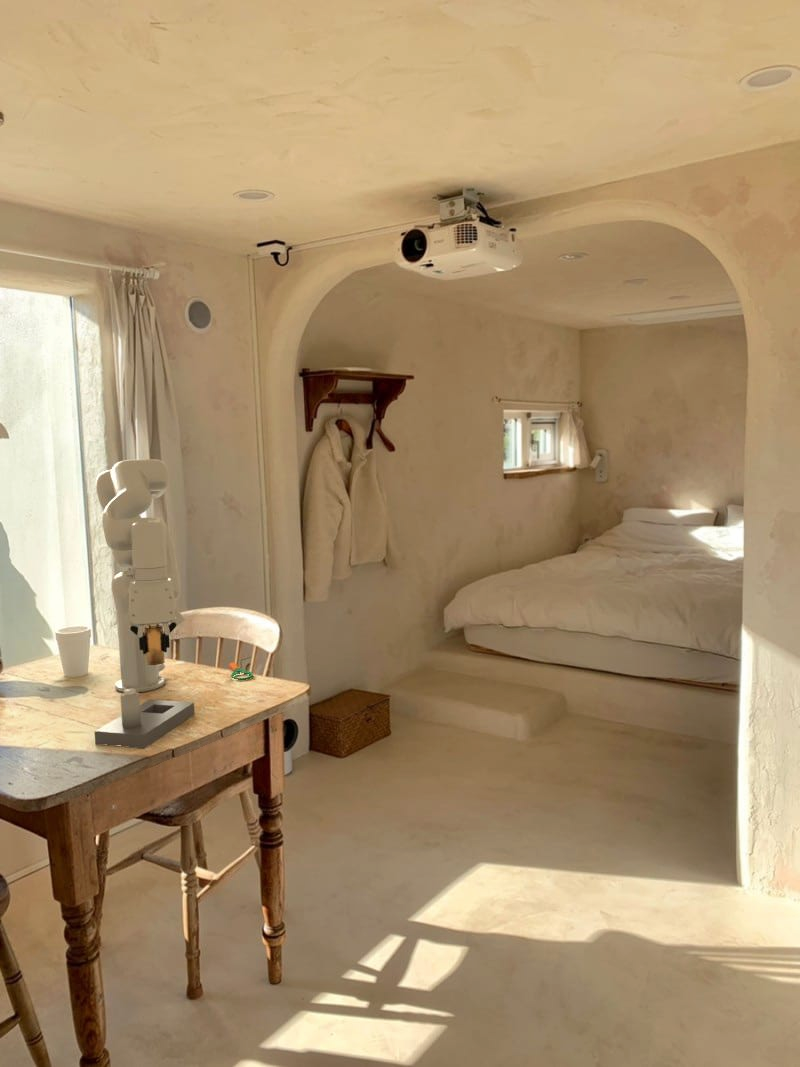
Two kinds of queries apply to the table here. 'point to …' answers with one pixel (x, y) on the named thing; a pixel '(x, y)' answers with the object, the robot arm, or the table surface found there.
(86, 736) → the table surface
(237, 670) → the magnifying glass
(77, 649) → the foam cup
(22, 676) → the table surface
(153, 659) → the amber bottle
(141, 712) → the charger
